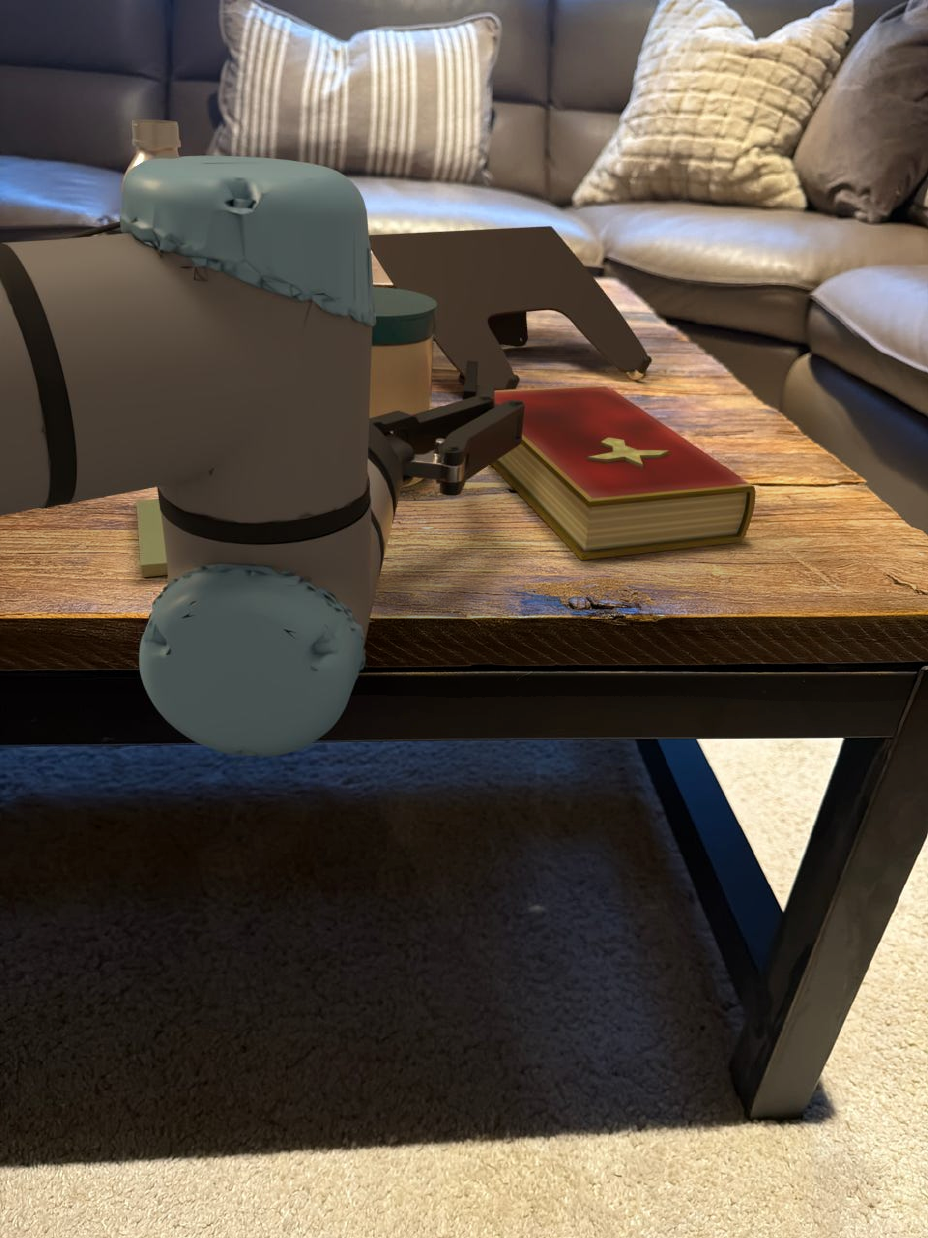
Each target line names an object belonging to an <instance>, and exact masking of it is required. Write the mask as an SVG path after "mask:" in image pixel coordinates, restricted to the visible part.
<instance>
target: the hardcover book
mask: <svg viewBox="0 0 928 1238" xmlns="http://www.w3.org/2000/svg"><path fill="white" fill-rule="evenodd" d="M494 398H495V403H496V404H497V405H500V404H502V403H504V402H506V401H509V400H518V401H522V402H523V403H525V409H524V420H523V431H522V442H521V444H520V445H519V446H517V447H516V448H514V449H513V450H511V451H510V452H508V453H507V454H505V455H504V456H502V457H501V458H499V459H498V460H496V461H495V462H493V463H492V464H490V465H491V466H492V467H493V468H494V469H495V470H496V471H497V473H498V474H499V475H501V476H502V478H503V479H504V480H505V481H506V482H507V483H508V484H509V485H510V486H511V487H512V488H513V490H515V491H516V492H517V494H519V496H520V497H521V498H522V499H523V500H524V501H525V502H526V503H527V504H528V505H529V506H530V507H531V508H532V509H533V511H534V512H536V514H537V515H538V516H539V517H540V518H541V519H542V520H543V521H544V522H545V524H546V525H547V526H548V527H549V528H550V529H551V530H552V531H553V532H554V534H556V535H557V536H558V537H559V538H560V539H561V540H562V541H563V543H564V544H565V545H566V546H567V547H568V548H569V549H570V550H571V551H572V552H573V553H574V554H575V555H576V556H577V557H578V559H580V561H585V560H587V561H588V560H595V559H603V558H613V557H622V556H629V555H638V554H645V553H648V554H649V553H655V552H656V553H657V552H665V551H672V550H682V549H689V548H690V549H692V548H700V547H708V546H717V545H723V544H734V543H735V544H736V543H741V542H742V541H743V540H744V538H745V537H746V536H747V533H748V530H749V528H750V525H751V522H752V518H753V515H754V509H755V505H756V489H755V485H753V484H751V483H750V482H749V481H747V480H746V479H744V478H743V477H742V476H740V475H739V474H737V473H736V472H734V471H732V470H731V469H730V468H728V467H727V466H725V465H724V464H722V463H721V462H720V461H718V460H717V459H715V458H713V457H712V456H710V455H709V454H708V453H706V452H705V451H703V450H702V449H700V448H699V447H698V446H696V445H695V444H694V443H692V442H690V441H689V440H688V439H686V438H685V437H683V436H681V435H680V434H679V433H677V432H676V431H674V430H673V429H672V428H670V427H668V426H667V425H665V424H664V423H662V422H661V421H660V420H658V419H657V418H655V417H654V416H652V415H651V414H650V413H648V412H646V411H645V410H643V409H642V408H640V407H639V406H638V405H636V404H635V403H634V402H632V401H631V400H630V399H628V398H626V397H624V396H623V395H621V393H619V392H618V391H615V390H614V389H613V388H612V387H610V386H609V385H608V384H592V385H573V386H553V387H552V386H551V387H535V388H533V387H532V388H516V389H513V390H495V393H494Z"/></svg>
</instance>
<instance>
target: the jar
mask: <svg viewBox="0 0 928 1238" xmlns="http://www.w3.org/2000/svg"><path fill="white" fill-rule="evenodd" d="M434 343H435V342H434V334H433V335H432V336H430V337H428V338H425V339H422V340H418V341H412V342H405V343H392V344H373V343H372V352H371V381H370V411H369V418H373V417H377V416H380V415H384V414H387V413H391V412H394V411H401V412H404V413H407V414H410V415H413V414H417V413H420V412H424V411H427V410H430V409H432V391H433V363H434ZM391 433H392V434H393V431H391ZM424 479H425V478H416V477H414V478H413V480H412V481H411V482H410V483H409V484H408V485H406V486H404V487H402V488H401V489H403V488H407V487H410V486H413V485H416V484H418V483H419V482H421V481H422V480H424Z"/></svg>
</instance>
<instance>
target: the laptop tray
mask: <svg viewBox="0 0 928 1238" xmlns="http://www.w3.org/2000/svg"><path fill="white" fill-rule="evenodd" d="M369 242H370V245H371V251H372V252H373V254H374V255H375V257H376V259H377V260H378V262H379V263H380V265H381V266H382V268H383V270H384V271H385V273H386V274H387V276H388V277H389V279H390V280H391V282H392V283H393V285H392V286H394V289H402V290H408V291H413V292H417V293H420V294H424V295H426V296H429V297H431V298H432V299H434V300H435V301H436V303H437V319H436V332H435V333H434V342H433V343H435V345H436V346H437V347H438V348H439V350H440V351H441V352H442V353H443V354H444V356H445V357H446V358H447V359H448V361H449V362H450V363H451V364H452V366H453V367H455V368H454V369H456V371H458V373H459V376H458V378H457V383H458V384H460V385H462V386H464V381H465V373H466V364H467V361H478V373H477V386H480V387H492V388H493V389H494V390H513V389H517V387H518V385H519V383H520V381H521V377H519V376H518V375H517V374H515V373H514V370H513V368H512V366H511V364H510V362H509V360H508V357H507V356H506V354H505V352H504V349H503V348H502V346H507V347H515V348H522V347H524V346H525V345H526V344H527V343H528V341H529V331H528V319H527V313H530V312H531V313H532V312H542V311H551V312H556V313H559V314H561V315H562V316H565V318H566V319H568V320H569V321H570V322H571V323H572V324H573V325H574V326H575V328H576V329H577V330H578V331H579V332H580V333H581V334H582V336H583V337H584V339H586V340H587V341H588V342H589V343H590V344H591V346H593V348H594V349H596V350H597V351H598V353H600V355H601V356H602V357H604V358H605V359H606V360H607V361H608V362H609V363H610V364H611V365H612V366H613V367H614V369H616V370H617V371H619V372H622V373H625V374H626V375H627V376H628V377H629V379H631V380H633V381H639V380H640V379H642V377H643V376H644V375H645V374H646V373H647V370H648V368H649V367H650V365H651V364H652V362H653V358H652V356H650V355H648V352H647V351H646V349H645V347H644V346H643V344H642V343H641V341H640V340H639V337H637V335H636V333H635V332H634V331H633V329H632V328H631V325H629V323H628V322H627V320H626V319H625V317H624V316H623V315H622V313H621V311H619V309H618V308H617V306H616V305H615V304H614V302H613V301H612V300H611V298H610V297H609V295H608V294H607V293H606V292H605V290H604V289H603V288H602V286H601V285H600V284H599V282H598V281H597V280H596V278H594V276H593V275H592V273H591V272H590V271H589V270H588V269H587V267H586V266H585V265H584V263H583V262H582V261H581V260H580V259H579V257H578V256H577V255H576V254H575V253H574V252H573V250H572V249H571V248H570V247H569V245H568V244H567V243H566V241H565V240H564V239H563V237H561V235H559V233H558V232H557V231H556V230H555V228H554V227H553V226H552V225H547V226H526V227H525V226H523V227H503V228H487V229H485V228H484V229H483V228H482V229H465V230H446V231H425V232H406V233H405V232H404V233H388V234H387V233H386V234H385V233H384V234H369Z"/></svg>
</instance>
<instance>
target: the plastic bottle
mask: <svg viewBox="0 0 928 1238" xmlns="http://www.w3.org/2000/svg"><path fill="white" fill-rule="evenodd" d="M131 131H132V139H131V143H132V146H134V147H136V154H135V155H134V157H133V159H132V160H131V162H130V164H129V165H128V167H127V169H126V171H125V173H124V176H123V178H122V181H121V188H120V193H121V195H122V193H123V182H124V180H125V177H126V175H127V173H128V172H129V171H130V170H131V169H132V168H133V167H134V166H136V165H137V164H139V163H141V162H143V161H147V160H152V159H161V158H166V159H175V158H180V157H181V156H180V155H179V152H178V151H179V150H178V148H181V147H182V143H181V140H180V132H179V131H180V130H179V124H178V122H177V121H173V120H164V119H163V120H162V119H133V120H131Z"/></svg>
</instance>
